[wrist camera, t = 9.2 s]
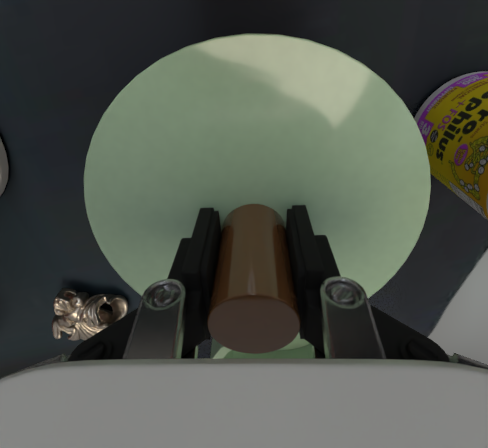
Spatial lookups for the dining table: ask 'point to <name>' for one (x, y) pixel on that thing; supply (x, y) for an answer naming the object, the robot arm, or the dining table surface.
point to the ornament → (85, 313)
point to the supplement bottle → (459, 137)
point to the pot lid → (257, 174)
